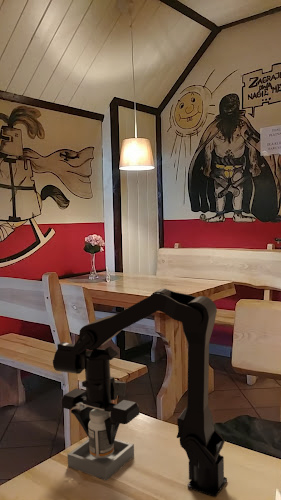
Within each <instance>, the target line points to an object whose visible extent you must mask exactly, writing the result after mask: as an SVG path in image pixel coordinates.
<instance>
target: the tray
mask: <svg viewBox="0 0 281 500" xmlns="http://www.w3.org/2000/svg"><path fill="white" fill-rule="evenodd" d="M134 457H135V444H134V443H131V442H128V441H124V440H121V439H117V438H115V440H114V452H113V453H112V454H111V455H110V456H108V457H106V458H95V457H93V456H92V455H91V454H90V449H89V438H88V439H86V440H85V441H84V442H82V443H81V444H79V445H78V446H76V447H75V448H73V450H71V451H70V452H68V453H67V467H68V468H71V469H73V470H77V471H79V472H82V473H85V474H88V475H89V476H93V477H95V478H98V479H101V480H103V481H106V482H107V481H108V480H109V479H110V478H111V477H112V476H114V475H115V474H116V473H117V472H118V471H119V470H121V468H122V467H124V466H125V465H126V464H127V463H128V462H130V461H131V460H132V459H133V458H134Z"/></svg>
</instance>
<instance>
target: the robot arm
mask: <svg viewBox="0 0 281 500" xmlns="http://www.w3.org/2000/svg"><path fill="white" fill-rule="evenodd" d="M158 311H159V312H160V313H161V312H162V313H163V314H164V315H166V316H168V317H170V318H171V319H173V320H174V321H178V322H180V323H181V326H182V332H183V333H184V336H185V339H186V341H187V397H186V398H187V400H186V401H187V402H186V403H187V404H186V406H185V408H184V409H183V411H182V412H181V413H180V415H179V416H178V418H177V420H176V422H177V429H178V430H177V431H178V432H177V435H176V438H177V439H179V444H180V448H182V449H183V450H184V452H185V453H186V456H187V459H188V479H189V482H188V483H187V489H188V488H189V489H190V490H194V491H197V492H200V493H202V494H203V493H204V494H206V495H209V496H211V497H217V496H218V495H219V494H220V492H221V491H222V489H223V487H224V486H225V484H226V483H228V482H227V481H228V477H225V469H224V468H225V466H224V465H225V464H224V463H225V462H224V461H225V460H224V456H223V455H221V454H220V453H221V451H222V449H223V448H224V445H225V442H226V440H225V439H224V438H223V437H222V436H221V434H220V433H219V432H218V431H217V430H216V429H215V425H214V419H213V414H212V412H211V409H210V407H209V372H210V371H209V370H210V368H209V367H210V364H209V362H210V340H211V336H212V333H213V330H214V327H215V323H216V322H215V321H216V317H217V311H218V309H217V305H216V303H215V302H214V301H213V300H212V299H211V298H209V297H208V296H204V295H200V296H194V295H192V294H187V293H182V292H176V291H173V290H170V289H167V288H160V289H158V290H156V291H154V292H153V293H152V294H150V295H149V296H147V297H146V298H144V299H142V300H140V301H138V302H136V303H135V304H133V305H131V306H129V307H127V308H125V309H123V310H121V311H120V312H118V313H115V314H112V315H111V314H110V315H108V316H105V317H101V318H98V319H95V320H94V321H91V322H90V323H87V324H85V325H84V326H82V327H81V328H80V329H79V335H78V339H77V340H76V342H75V343H68V342H66V341H62V342H60V343H58V344H57V349H56V351H55V353H54V356H53V359H52V365H53V366H52V367H53V369H54V371H56V372H63V373H69V374H78V375H79V374H81V373H82V372H83V371H84V376H85V377H84V378H85V380H83V381H82V382H81V387H83V388H85V389H80V388H74V389H72V390H70V391H69V392H67V393H65V394H63V396H62V397H61V408H62V409H66V410H69V411H70V413H71V414H73V416H74V417H75V418H76V420H77V421H78V422H79V424H80V426H81V428H82V429H83V431H84V433H85V434H86V435H87V436H86V437H88V438H89V431H88V424H89V421H90V420H91V419H90V411H91V410H93V409H99V410H104V411H108V412H110V417H109V418H107V419H106V420H105V421H104V422H105V427H106V432H107V437H108V441H109V444H110V445H111V444H113V443H114V440H115V439H116V436H117V432H118V430H119V426H120V424H121V425H128V423H130V422H131V421H133V420H134V419H135V418H137V417H138V416H139V415H140V405H139V404H138V402H135V401H131V400H128V399H127V400H126V399H123V400H121V401H120V402H118V403H117V404H116V403H114V402H113V401H115V400H117V399H118V396H121V397H125V396H126V389H127V388H126V387H127V382H125V381H120V380H115V377H113V376H111V364H110V363H111V360H114V359H115V358H116V357H118V356H119V352H117V350H115V349H114V348H113V347H112V346H111V345H109V346H108V347H106V348H100V347H102V346H103V345H105V344H107V343H109V342H110V341H111V340H112V339H114V338H115V337H116V336H117V335H118V334H119V333H120V332H121V331H123V330H124V329H126V328H129V327H130V326H131V325H134V324H136V323H137V322H138V323H139V322H140V321H141V320H143V319H145V318H148V317H149V316H151V315H153V314H155V313H158ZM112 402H113V403H112Z"/></svg>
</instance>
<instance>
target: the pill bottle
mask: <svg viewBox="0 0 281 500" xmlns="http://www.w3.org/2000/svg"><path fill="white" fill-rule="evenodd" d="M109 417H110V412H108V411H104V410H99V409H95V408H94V409H93V410H91V411H90V419H91V420H90V421H89V424H88V431H89V437H88V439H89V449H90V454H91V455H92V456H93V457H95V458H106V457H108V456H110V455H111V454H112V453H113V452H114V443H113V444H111V445H110V444H109V441H108V437H107V432H106V427H105V422H104V421H105V420H106V419H107V418H109Z"/></svg>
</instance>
